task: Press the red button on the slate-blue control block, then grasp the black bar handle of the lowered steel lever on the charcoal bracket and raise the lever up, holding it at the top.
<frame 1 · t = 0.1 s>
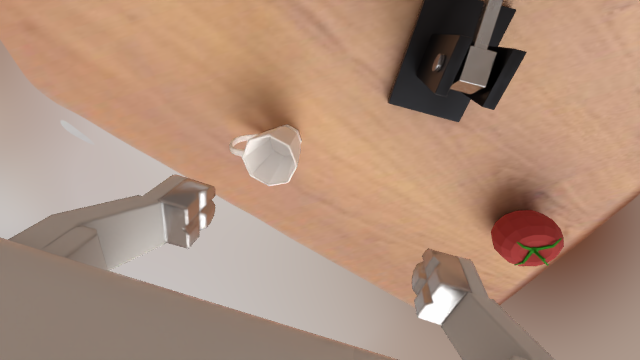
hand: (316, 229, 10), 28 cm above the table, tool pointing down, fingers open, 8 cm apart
cup: (277, 136, 39), on the table
tomato: (512, 221, 39), on the table
bracket: (443, 60, 31), on the table
lever: (489, 14, 22), point 8 cm above the table, hinge at -25.0°
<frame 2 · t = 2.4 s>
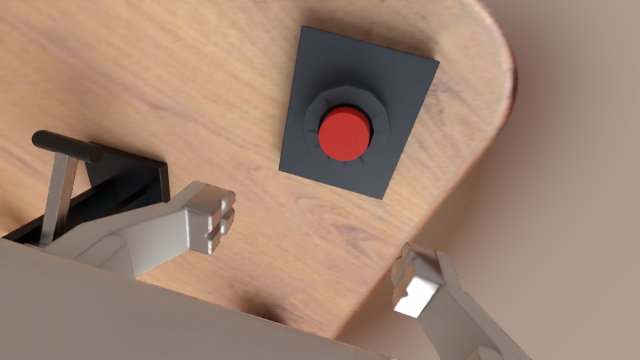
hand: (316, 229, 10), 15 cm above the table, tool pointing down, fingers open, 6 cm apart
bracket: (135, 196, 32), on the table
control block: (348, 118, 23), on the table
button: (344, 133, 19), point 4 cm above the table, slide at 0.2 cm
lever: (57, 206, 23), point 8 cm above the table, hinge at -25.0°
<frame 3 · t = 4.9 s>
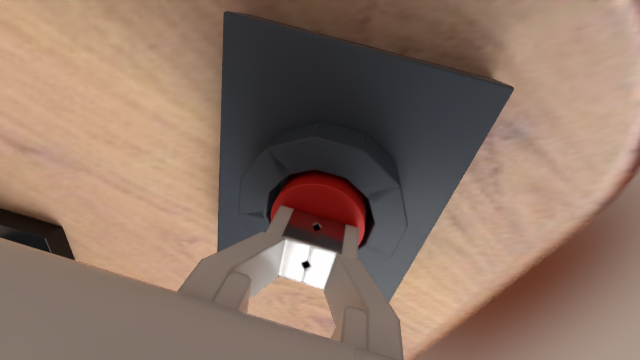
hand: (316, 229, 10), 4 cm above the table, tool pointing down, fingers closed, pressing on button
bracket: (32, 264, 22), on the table
control block: (330, 176, 13), on the table
button: (320, 211, 11), point 3 cm above the table, slide at -0.9 cm, touching gripper
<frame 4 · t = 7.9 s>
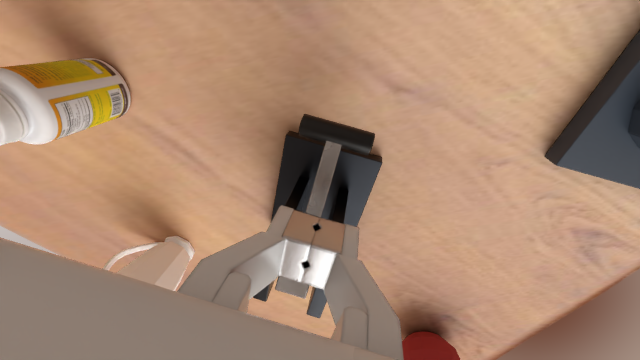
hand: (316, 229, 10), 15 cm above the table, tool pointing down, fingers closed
cup: (170, 244, 36), on the table
tomato: (423, 336, 37), on the table
bracket: (321, 194, 28), on the table
lever: (315, 207, 19), point 8 cm above the table, hinge at -25.0°
supplement bottle: (109, 88, 26), on the table
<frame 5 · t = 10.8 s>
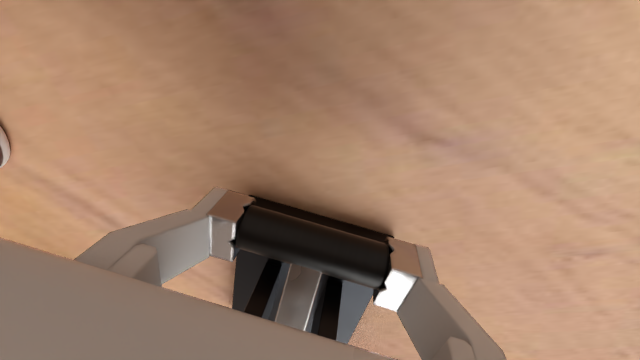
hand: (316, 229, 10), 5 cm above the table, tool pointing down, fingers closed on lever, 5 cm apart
bracket: (302, 279, 19), on the table
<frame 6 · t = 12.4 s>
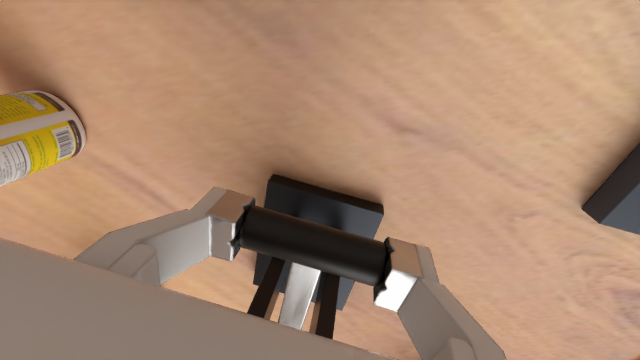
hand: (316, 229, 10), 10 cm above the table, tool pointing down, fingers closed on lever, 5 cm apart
bracket: (312, 244, 24), on the table
lever: (290, 321, 12), point 10 cm above the table, hinge at 3.5°, touching gripper
supplement bottle: (61, 123, 22), on the table
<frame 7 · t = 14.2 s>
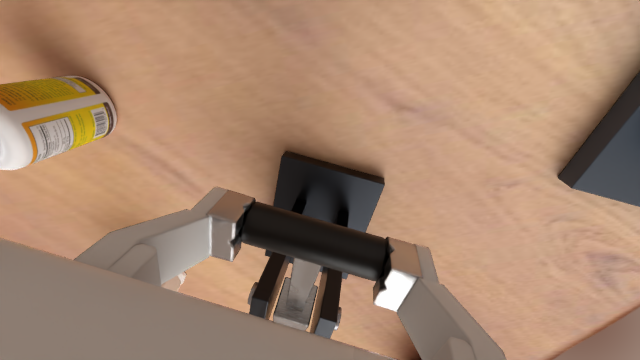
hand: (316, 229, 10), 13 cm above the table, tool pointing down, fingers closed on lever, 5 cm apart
bracket: (319, 217, 26), on the table
lever: (301, 284, 14), point 12 cm above the table, hinge at 22.0°, touching gripper
supplement bottle: (94, 106, 25), on the table
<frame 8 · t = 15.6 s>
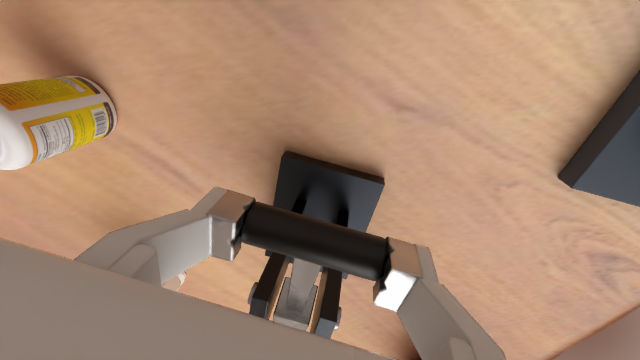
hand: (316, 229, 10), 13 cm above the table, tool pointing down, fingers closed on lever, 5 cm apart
bracket: (319, 217, 26), on the table
lever: (301, 284, 14), point 12 cm above the table, hinge at 22.1°, touching gripper
supplement bottle: (94, 106, 25), on the table
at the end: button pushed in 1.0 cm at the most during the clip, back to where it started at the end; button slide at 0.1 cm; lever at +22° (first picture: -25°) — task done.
